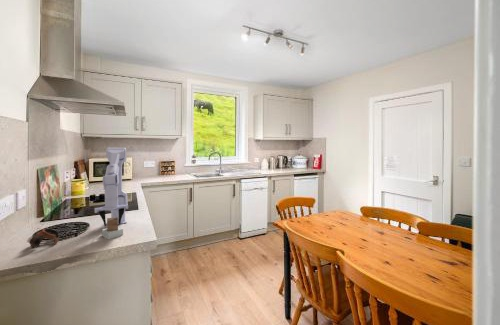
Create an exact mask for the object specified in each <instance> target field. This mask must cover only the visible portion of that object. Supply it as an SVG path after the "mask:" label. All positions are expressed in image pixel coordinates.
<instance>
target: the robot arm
mask: <svg viewBox="0 0 500 325" xmlns="http://www.w3.org/2000/svg"><path fill="white" fill-rule="evenodd" d="M127 153H128V151H127V148H126V147H109V146H108V147H107V148H106V150H105V154H106V155H105V156H106V158H107V160H108V162H109V164H108V165H107V166H106V170H105V174H104V175H102V185H103V190H104V206H100V207H94V213H95V214H97V213H98V214H99V216H100V217H101V220H102V221H103V224H104V225H103V226H104V227H107V223H106V222H107V219H106V212H110V218H112V217H117V218H118V225H121V224H127V223H128V222H127V219H126V210H129V204H128V193H127V192H126V191H124V190H123V165H124V163H126V162H127Z"/></svg>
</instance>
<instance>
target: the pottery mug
mask: <svg viewBox="0 0 500 325" xmlns="http://www.w3.org/2000/svg"><path fill="white" fill-rule="evenodd" d="M60 235H61V233H60V232H59V231H57V230H56V229H53V228H42V230H41V231H40V230H39V232H37V233H35V235H34V236H33V237H31V239H30V240H29V242H28V243H29V245H30V248H31V249H34V248H39V247H40V244H41V242H42V241H43V239H44V238H45V239H50V240H53V243H52V244H53V245H57V244H58V242H59V241H60Z"/></svg>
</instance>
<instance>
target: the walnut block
mask: <svg viewBox="0 0 500 325" xmlns="http://www.w3.org/2000/svg"><path fill="white" fill-rule="evenodd" d="M106 222H107V223H106V227H107V230H108V231H114V230H118V227H119V224H118V218H117V217H112V218H111V217H107V218H106Z"/></svg>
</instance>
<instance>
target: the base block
mask: <svg viewBox="0 0 500 325" xmlns="http://www.w3.org/2000/svg"><path fill="white" fill-rule="evenodd" d="M101 234H102V237H103V238H105V239H107V240H111V239H115V238H117V237H121V236H123V235H124V228H122V227H120V226H118V230H114V231H108V230H107V228H103V229H101Z"/></svg>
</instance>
